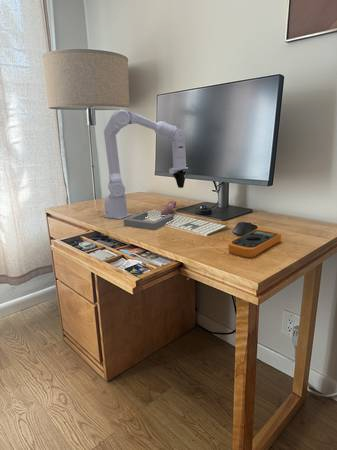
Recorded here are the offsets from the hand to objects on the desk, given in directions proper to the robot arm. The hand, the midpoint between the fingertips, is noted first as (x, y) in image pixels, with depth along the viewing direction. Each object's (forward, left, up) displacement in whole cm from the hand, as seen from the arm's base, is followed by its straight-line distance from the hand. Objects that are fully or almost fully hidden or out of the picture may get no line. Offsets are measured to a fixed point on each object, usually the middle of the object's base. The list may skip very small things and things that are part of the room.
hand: (180, 187), depth 141 cm
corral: (0, -25, -10) cm, 27 cm away
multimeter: (+45, -33, -10) cm, 57 cm away
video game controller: (0, -10, -10) cm, 14 cm away
